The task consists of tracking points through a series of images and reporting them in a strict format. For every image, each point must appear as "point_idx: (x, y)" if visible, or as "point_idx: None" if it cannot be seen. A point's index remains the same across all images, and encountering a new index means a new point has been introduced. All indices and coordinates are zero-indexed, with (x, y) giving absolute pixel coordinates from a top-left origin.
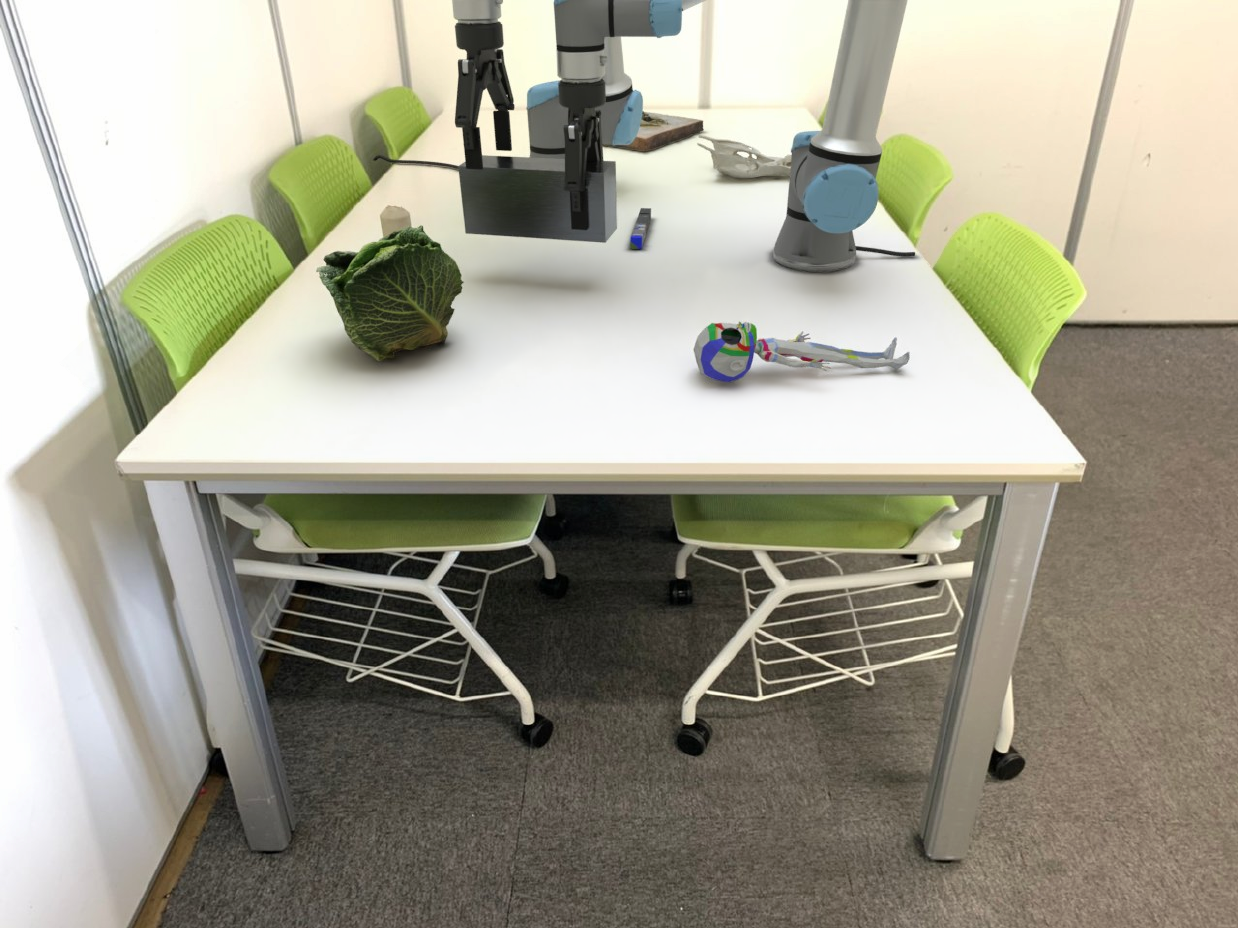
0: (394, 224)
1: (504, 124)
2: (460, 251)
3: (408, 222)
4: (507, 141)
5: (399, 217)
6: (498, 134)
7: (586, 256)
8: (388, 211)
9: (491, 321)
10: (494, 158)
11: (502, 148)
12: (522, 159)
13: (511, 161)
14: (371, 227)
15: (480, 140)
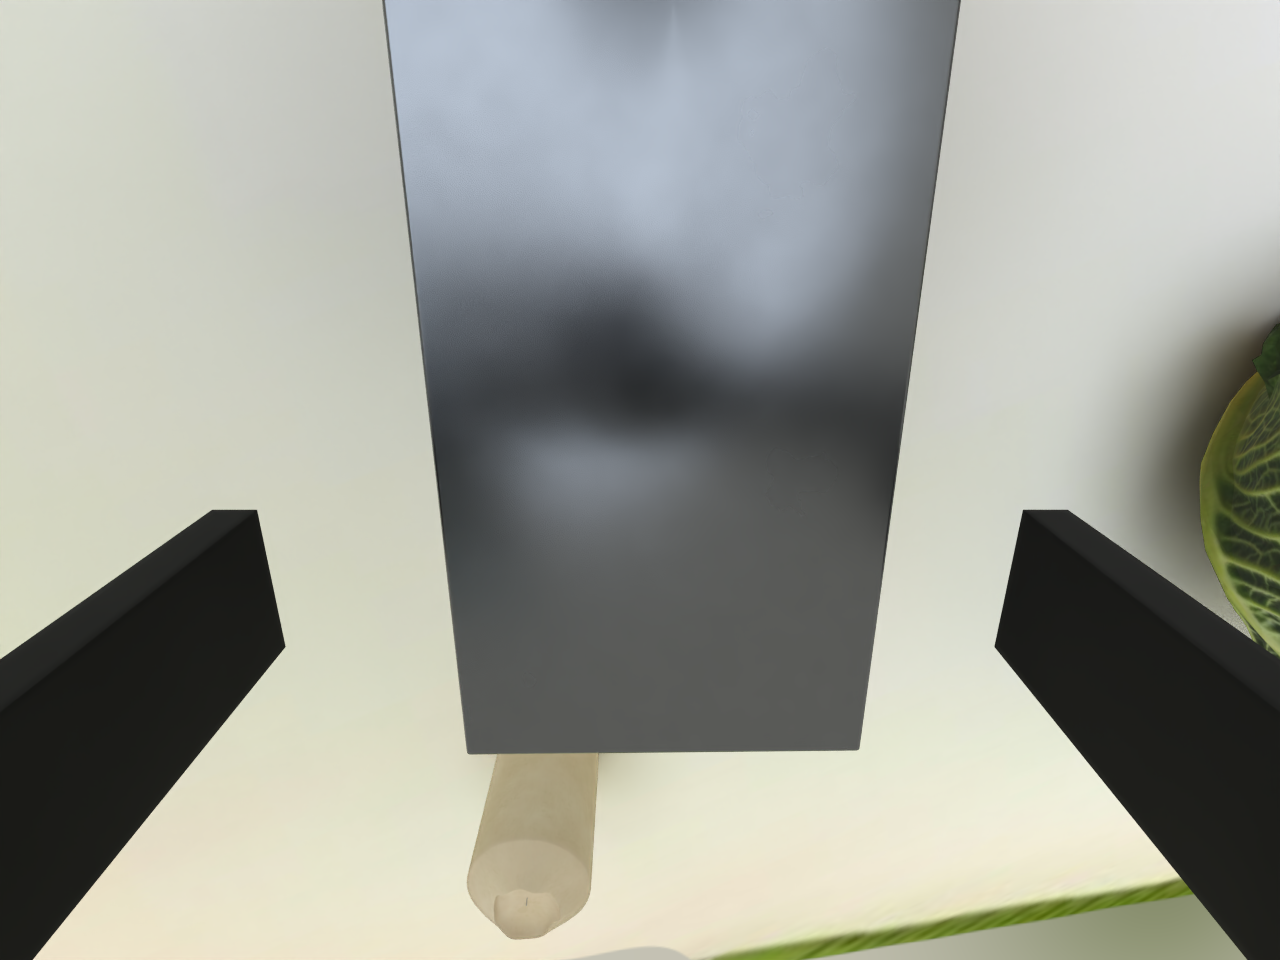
0: (586, 848)
1: (71, 727)
2: (408, 601)
3: (534, 816)
4: (208, 579)
5: (569, 855)
6: (185, 717)
7: (270, 34)
8: (567, 911)
9: (1095, 212)
10: (547, 565)
11: (261, 598)
12: (516, 270)
13: (629, 360)
14: (290, 942)
15: (1235, 673)
